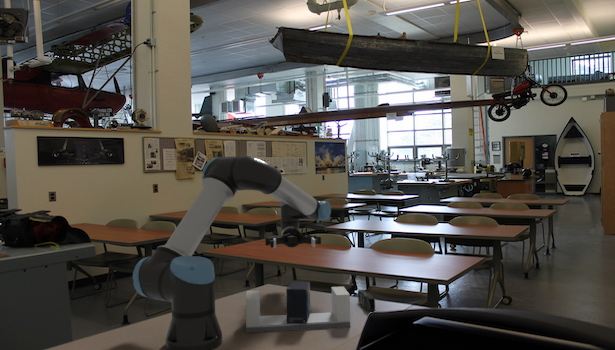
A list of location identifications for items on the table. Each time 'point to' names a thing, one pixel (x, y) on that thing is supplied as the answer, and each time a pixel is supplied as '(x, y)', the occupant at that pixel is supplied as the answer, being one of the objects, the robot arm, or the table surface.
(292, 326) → the panel
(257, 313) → the block
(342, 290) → the block
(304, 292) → the small box
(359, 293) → the mobile phone
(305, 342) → the table surface
